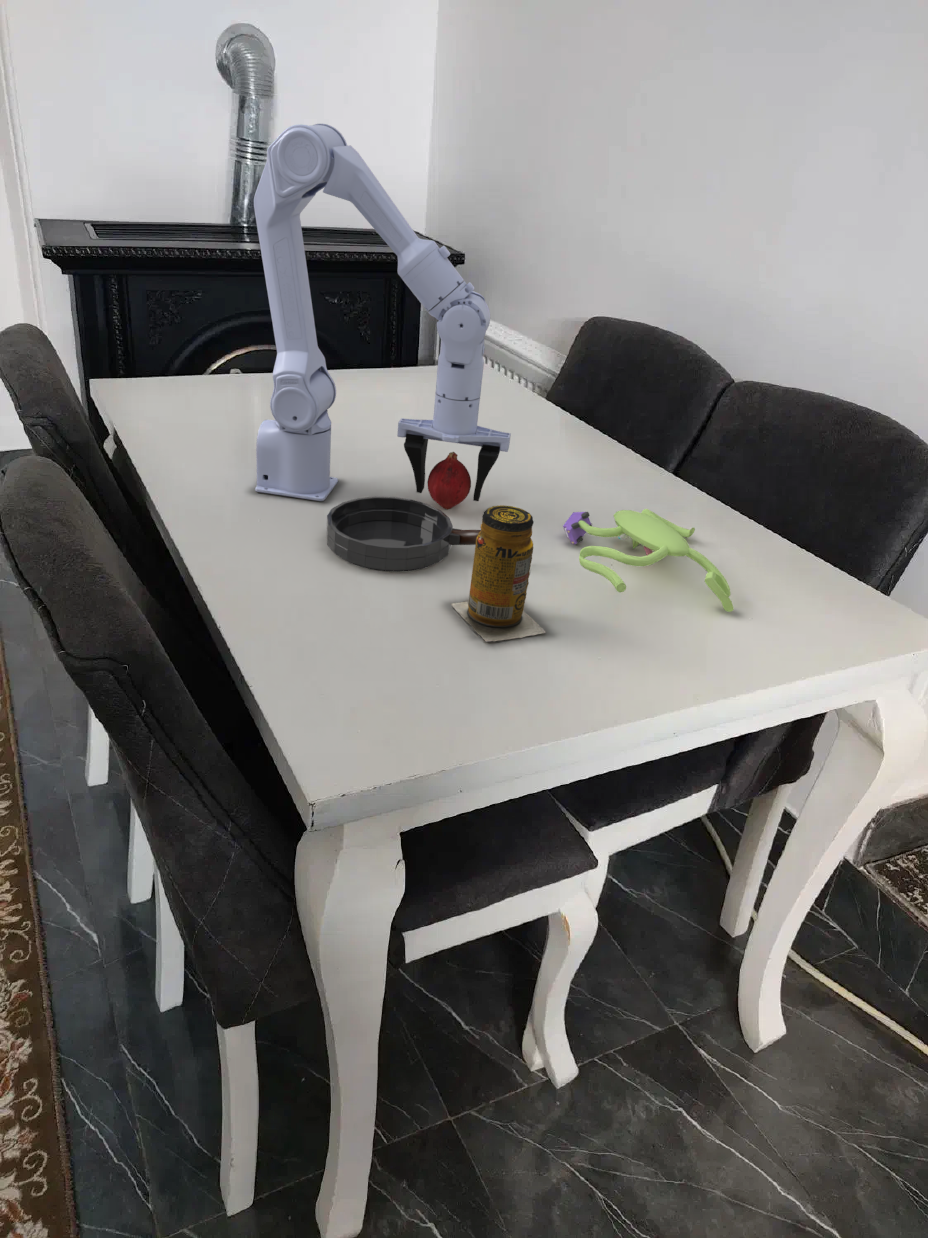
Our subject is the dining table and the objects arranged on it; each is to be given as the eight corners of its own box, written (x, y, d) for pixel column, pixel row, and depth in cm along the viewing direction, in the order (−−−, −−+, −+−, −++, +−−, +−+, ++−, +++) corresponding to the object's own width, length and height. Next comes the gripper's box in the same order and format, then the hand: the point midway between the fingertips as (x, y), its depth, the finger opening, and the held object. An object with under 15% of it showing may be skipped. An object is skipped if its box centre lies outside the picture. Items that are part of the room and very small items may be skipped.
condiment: (508, 597, 104) (521, 498, 98) (546, 634, 98) (563, 530, 92) (450, 605, 101) (460, 504, 95) (485, 644, 95) (498, 538, 89)
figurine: (578, 615, 102) (586, 570, 99) (552, 518, 125) (558, 479, 122) (740, 627, 103) (752, 583, 101) (684, 528, 126) (693, 490, 124)
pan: (311, 562, 107) (312, 536, 105) (344, 513, 120) (345, 489, 118) (438, 582, 105) (441, 555, 104) (457, 530, 118) (460, 506, 117)
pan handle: (443, 546, 110) (445, 522, 109) (446, 539, 112) (448, 515, 111) (523, 558, 110) (526, 534, 108) (524, 551, 111) (528, 527, 110)
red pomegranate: (463, 520, 121) (469, 463, 118) (420, 513, 122) (425, 456, 118) (471, 505, 126) (477, 449, 123) (430, 498, 127) (435, 442, 123)
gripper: (395, 394, 114) (389, 497, 120) (511, 410, 113) (498, 513, 119) (406, 380, 120) (399, 478, 126) (516, 395, 119) (504, 493, 125)
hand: (448, 494), depth 123 cm, fingers open, 7 cm apart
